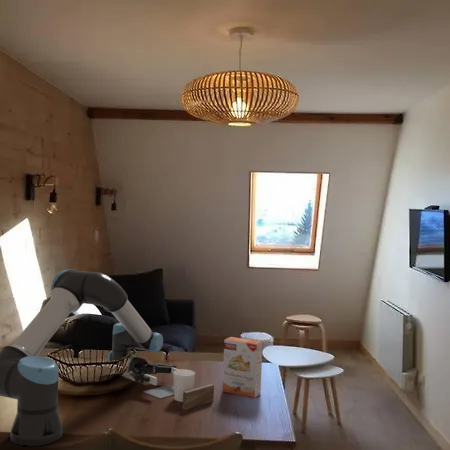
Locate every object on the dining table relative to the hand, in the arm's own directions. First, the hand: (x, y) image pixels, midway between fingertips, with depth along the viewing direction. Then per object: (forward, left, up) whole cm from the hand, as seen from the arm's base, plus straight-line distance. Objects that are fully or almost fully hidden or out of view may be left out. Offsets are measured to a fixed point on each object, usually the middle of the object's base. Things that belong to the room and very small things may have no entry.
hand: (170, 378), depth 218 cm
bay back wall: (+11, -12, -6) cm, 17 cm away
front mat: (-2, +2, -6) cm, 6 cm away
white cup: (+6, -6, -6) cm, 10 cm away
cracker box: (+28, +2, -6) cm, 28 cm away
